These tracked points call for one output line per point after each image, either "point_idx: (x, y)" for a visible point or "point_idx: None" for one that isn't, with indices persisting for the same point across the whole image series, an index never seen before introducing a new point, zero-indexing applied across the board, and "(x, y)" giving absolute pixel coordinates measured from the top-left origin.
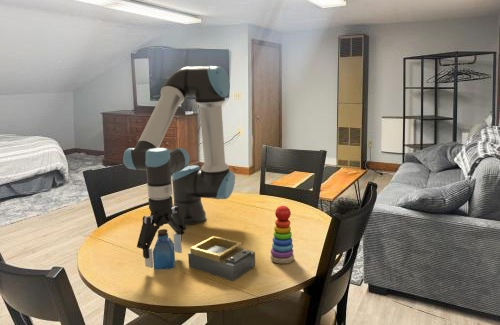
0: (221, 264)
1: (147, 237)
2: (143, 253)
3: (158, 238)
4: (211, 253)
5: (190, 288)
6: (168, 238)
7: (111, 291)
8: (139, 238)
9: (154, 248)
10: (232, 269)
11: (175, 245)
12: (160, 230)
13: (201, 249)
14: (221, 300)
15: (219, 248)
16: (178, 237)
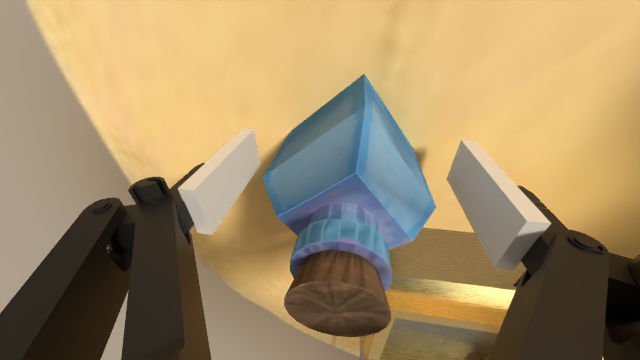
0: (363, 341)
1: (117, 312)
2: (182, 182)
3: (296, 242)
4: (370, 356)
5: (280, 272)
6: (395, 239)
7: (95, 117)
8: (50, 265)
9: (268, 193)
10: (360, 350)
11: (474, 169)
12: (332, 297)
13: (386, 336)
14: (286, 318)
15: (470, 331)
16: (488, 241)
